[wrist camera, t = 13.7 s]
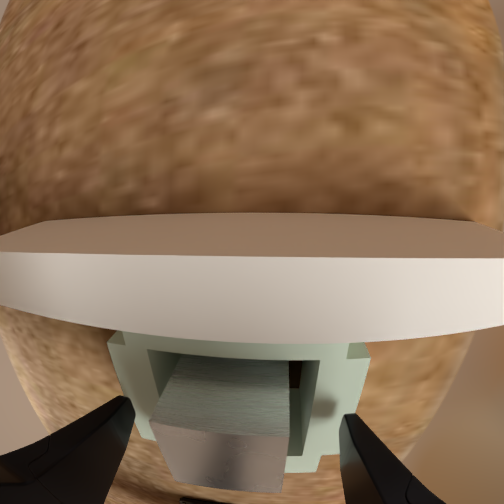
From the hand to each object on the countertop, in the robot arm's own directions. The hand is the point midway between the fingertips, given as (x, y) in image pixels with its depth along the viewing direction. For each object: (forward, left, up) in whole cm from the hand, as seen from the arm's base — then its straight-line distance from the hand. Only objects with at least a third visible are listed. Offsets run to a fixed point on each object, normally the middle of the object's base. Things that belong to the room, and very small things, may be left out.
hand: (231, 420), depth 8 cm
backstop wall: (+5, 0, -5) cm, 7 cm away
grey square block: (0, 0, -5) cm, 5 cm away
